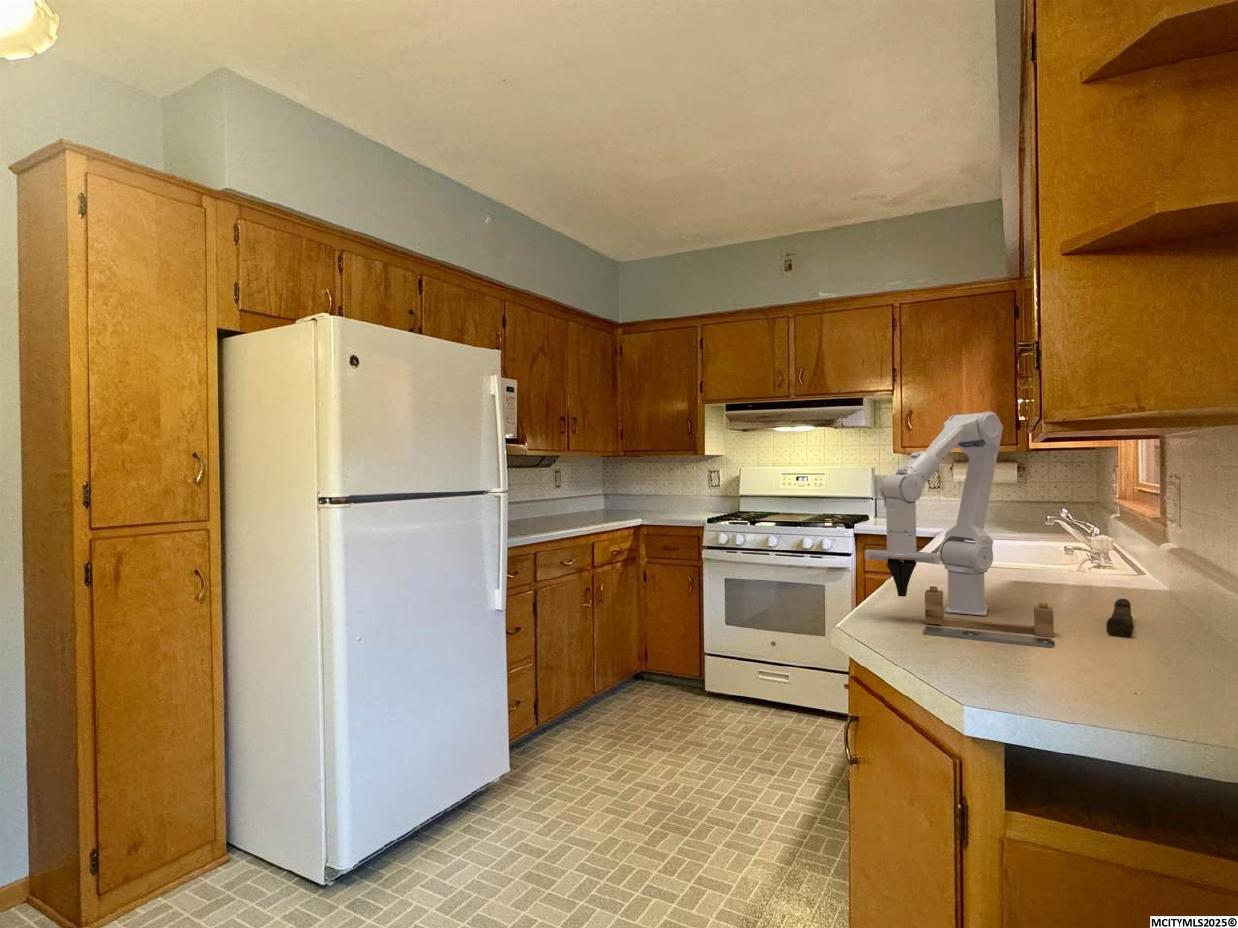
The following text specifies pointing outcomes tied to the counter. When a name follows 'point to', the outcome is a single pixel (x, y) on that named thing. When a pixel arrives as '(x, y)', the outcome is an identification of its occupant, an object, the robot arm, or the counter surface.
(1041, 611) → the bar
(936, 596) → the sliding head
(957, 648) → the counter surface
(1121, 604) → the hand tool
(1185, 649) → the counter surface
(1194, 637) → the counter surface
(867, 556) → the robot arm
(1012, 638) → the steel strip
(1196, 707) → the counter surface
